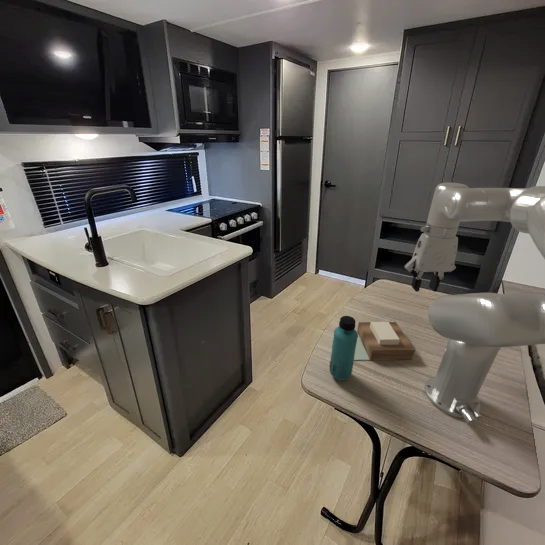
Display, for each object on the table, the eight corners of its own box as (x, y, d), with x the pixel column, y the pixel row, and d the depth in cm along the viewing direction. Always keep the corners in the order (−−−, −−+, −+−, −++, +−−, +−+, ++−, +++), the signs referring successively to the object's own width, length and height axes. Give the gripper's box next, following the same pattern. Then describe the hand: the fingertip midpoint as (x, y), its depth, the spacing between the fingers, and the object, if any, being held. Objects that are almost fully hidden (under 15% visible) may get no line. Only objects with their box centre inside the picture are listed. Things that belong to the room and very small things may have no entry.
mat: (369, 360, 88) (369, 359, 88) (346, 360, 88) (347, 359, 88) (358, 337, 98) (359, 336, 98) (338, 337, 98) (338, 336, 98)
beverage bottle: (355, 376, 82) (366, 319, 73) (342, 388, 78) (351, 330, 69) (336, 363, 87) (344, 308, 78) (323, 375, 83) (330, 318, 74)
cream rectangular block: (398, 344, 89) (399, 339, 88) (379, 344, 89) (380, 339, 88) (387, 326, 97) (388, 321, 96) (369, 326, 97) (370, 321, 96)
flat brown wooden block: (411, 359, 88) (414, 349, 87) (370, 360, 88) (372, 350, 86) (393, 331, 101) (395, 322, 99) (357, 331, 101) (358, 322, 99)
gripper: (416, 235, 73) (401, 296, 82) (480, 235, 74) (459, 295, 82) (403, 226, 80) (390, 283, 88) (462, 226, 81) (444, 283, 89)
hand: (423, 288), depth 85 cm, fingers open, 4 cm apart
